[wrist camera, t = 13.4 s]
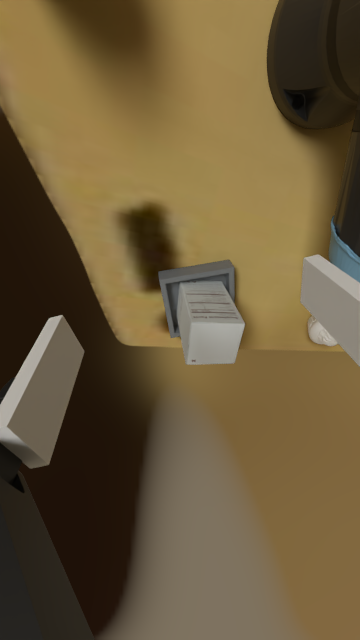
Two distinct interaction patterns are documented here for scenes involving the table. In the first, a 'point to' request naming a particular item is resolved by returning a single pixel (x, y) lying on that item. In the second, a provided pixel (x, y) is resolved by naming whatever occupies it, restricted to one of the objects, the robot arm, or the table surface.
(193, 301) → the supplement box
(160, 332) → the table surface
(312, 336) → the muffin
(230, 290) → the charcoal tray
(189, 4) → the table surface
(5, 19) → the table surface
